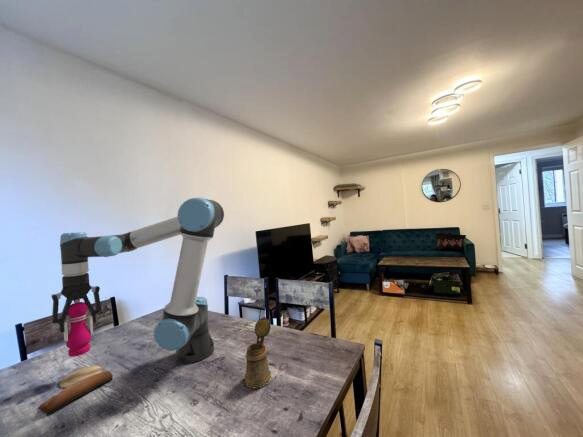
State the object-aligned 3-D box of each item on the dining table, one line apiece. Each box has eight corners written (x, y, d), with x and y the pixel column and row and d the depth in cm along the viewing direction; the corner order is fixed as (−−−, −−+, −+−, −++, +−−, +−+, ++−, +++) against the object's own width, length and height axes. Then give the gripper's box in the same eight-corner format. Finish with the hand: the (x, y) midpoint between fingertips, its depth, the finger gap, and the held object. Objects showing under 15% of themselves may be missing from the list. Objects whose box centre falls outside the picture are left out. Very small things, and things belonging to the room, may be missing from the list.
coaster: (105, 374, 94) (105, 372, 94) (62, 392, 85) (62, 390, 85) (97, 363, 101) (97, 362, 101) (57, 379, 92) (57, 377, 92)
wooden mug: (279, 365, 93) (276, 317, 93) (265, 390, 80) (262, 333, 80) (256, 363, 96) (254, 315, 96) (240, 386, 82) (237, 331, 82)
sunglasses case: (99, 374, 94) (103, 361, 92) (109, 388, 91) (114, 374, 90) (34, 409, 77) (38, 393, 76) (44, 426, 75) (48, 410, 73)
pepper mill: (80, 357, 89) (77, 301, 89) (61, 358, 90) (57, 302, 90) (97, 347, 97) (94, 294, 97) (78, 347, 97) (75, 295, 97)
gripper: (104, 268, 103) (107, 324, 103) (37, 278, 88) (41, 344, 88) (110, 270, 98) (113, 329, 98) (39, 281, 83) (43, 350, 83)
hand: (79, 336), depth 93 cm, fingers closed on pepper mill, 6 cm apart
